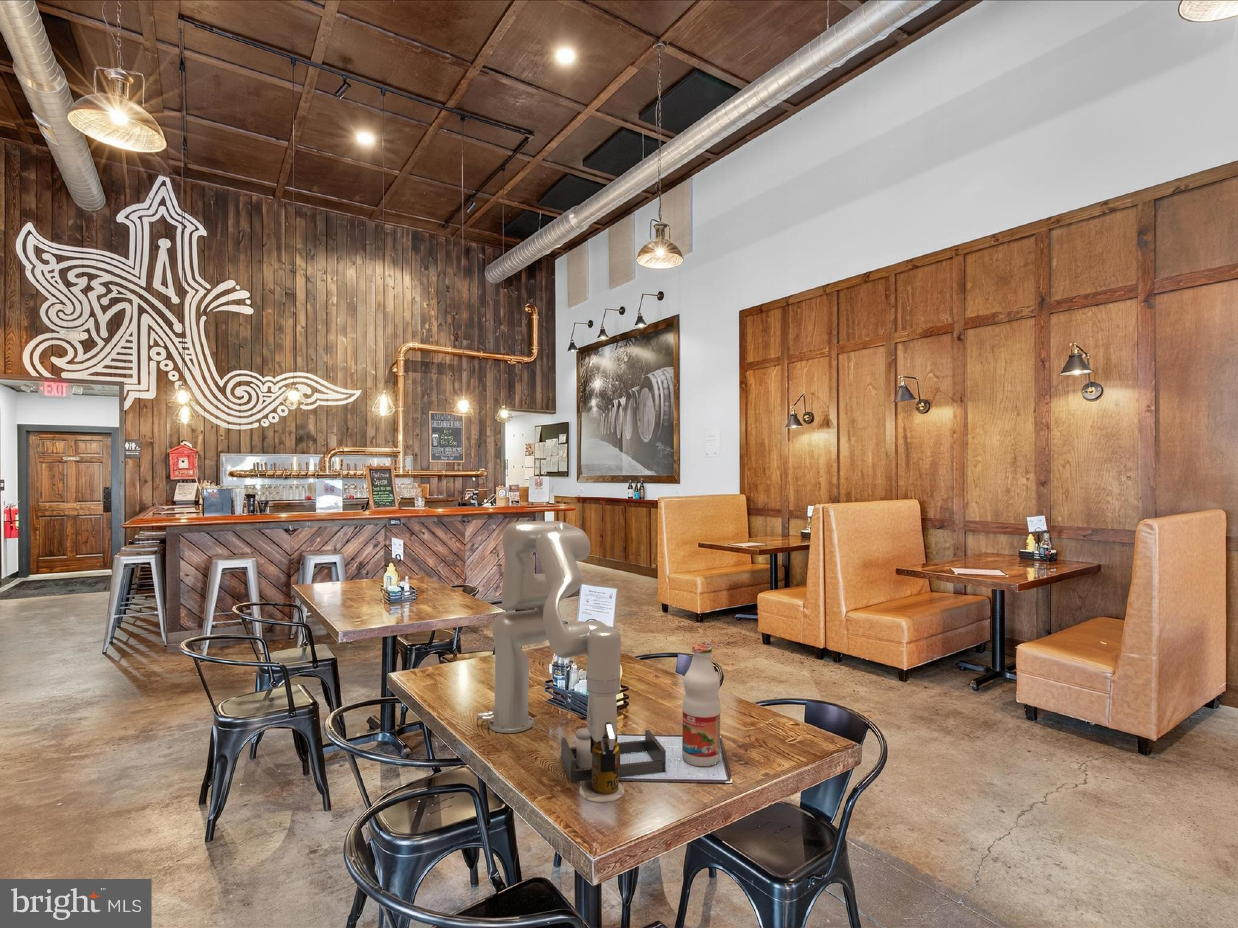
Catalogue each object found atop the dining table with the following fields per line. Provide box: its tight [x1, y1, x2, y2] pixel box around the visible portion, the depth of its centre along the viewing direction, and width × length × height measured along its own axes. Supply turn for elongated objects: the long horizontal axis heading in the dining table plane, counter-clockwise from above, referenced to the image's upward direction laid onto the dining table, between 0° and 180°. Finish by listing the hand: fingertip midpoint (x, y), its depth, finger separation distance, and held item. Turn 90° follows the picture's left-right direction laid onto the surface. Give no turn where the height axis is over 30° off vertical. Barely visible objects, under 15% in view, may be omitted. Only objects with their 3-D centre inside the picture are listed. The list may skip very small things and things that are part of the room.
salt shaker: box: [575, 727, 592, 769], centre depth 153 cm, size 4×4×8 cm
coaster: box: [579, 780, 625, 803], centre depth 140 cm, size 10×10×1 cm
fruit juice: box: [681, 644, 721, 767], centre depth 157 cm, size 9×9×28 cm
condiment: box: [579, 736, 624, 799], centre depth 141 cm, size 7×8×12 cm
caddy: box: [560, 729, 667, 784], centre depth 153 cm, size 23×13×5 cm, turn 105°
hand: (602, 761), depth 140 cm, fingers open, 9 cm apart
